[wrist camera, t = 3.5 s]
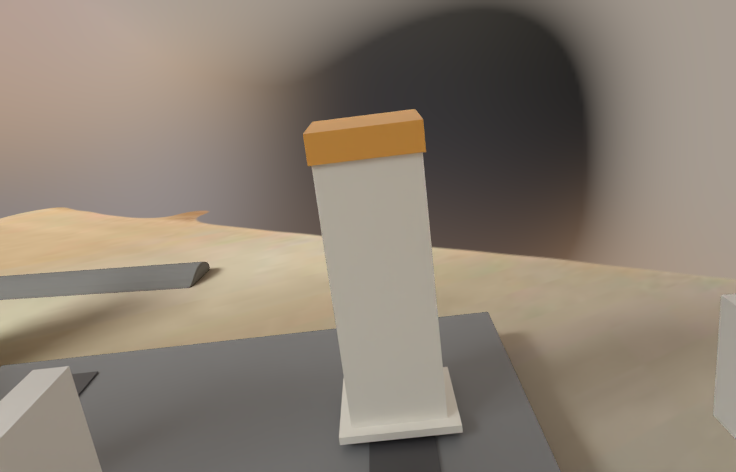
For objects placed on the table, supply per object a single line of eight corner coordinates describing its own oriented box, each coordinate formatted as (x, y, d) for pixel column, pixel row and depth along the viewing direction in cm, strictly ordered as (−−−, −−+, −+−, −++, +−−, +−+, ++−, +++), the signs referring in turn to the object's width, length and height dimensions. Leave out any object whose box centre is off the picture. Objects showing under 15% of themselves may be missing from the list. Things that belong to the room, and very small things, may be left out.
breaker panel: (609, 634, 16) (609, 574, 15) (-312, 717, 17) (-349, 663, 16) (490, 346, 31) (487, 310, 30) (13, 397, 32) (1, 363, 31)
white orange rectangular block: (462, 432, 21) (435, 119, 17) (339, 445, 21) (289, 137, 18) (447, 373, 25) (423, 106, 21) (344, 384, 25) (304, 121, 21)
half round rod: (194, 294, 45) (189, 273, 44) (-28, 308, 48) (-35, 288, 48) (215, 274, 49) (211, 254, 48) (9, 288, 52) (3, 269, 52)
